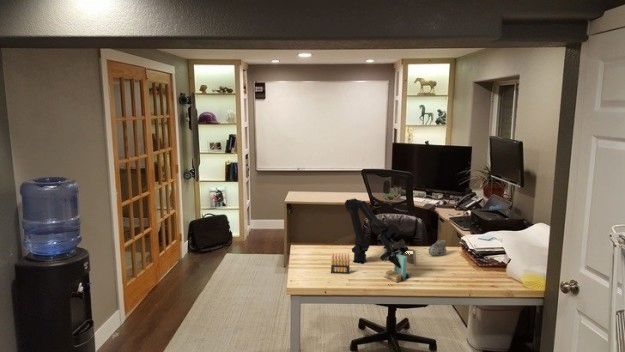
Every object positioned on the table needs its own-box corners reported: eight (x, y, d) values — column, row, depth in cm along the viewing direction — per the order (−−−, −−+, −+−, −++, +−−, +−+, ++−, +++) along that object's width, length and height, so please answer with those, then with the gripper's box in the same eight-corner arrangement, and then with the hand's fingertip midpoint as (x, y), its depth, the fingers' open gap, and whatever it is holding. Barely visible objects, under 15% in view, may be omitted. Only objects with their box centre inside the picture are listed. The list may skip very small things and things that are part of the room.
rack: (383, 278, 240) (383, 273, 239) (396, 273, 247) (396, 268, 246) (397, 284, 232) (397, 279, 232) (410, 279, 239) (411, 274, 239)
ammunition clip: (349, 272, 248) (350, 253, 246) (349, 274, 246) (350, 254, 244) (330, 272, 249) (331, 252, 246) (330, 273, 247) (331, 253, 245)
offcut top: (385, 273, 238) (386, 271, 238) (390, 271, 241) (390, 269, 241) (397, 278, 232) (397, 276, 232) (402, 276, 235) (402, 274, 235)
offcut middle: (384, 275, 239) (384, 273, 239) (389, 273, 242) (389, 271, 242) (396, 279, 233) (396, 277, 233) (400, 278, 236) (401, 275, 236)
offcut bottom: (385, 277, 239) (385, 275, 239) (390, 275, 242) (390, 273, 241) (396, 282, 233) (396, 280, 233) (401, 280, 236) (401, 278, 235)
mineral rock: (428, 257, 274) (429, 242, 272) (424, 251, 284) (425, 236, 282) (449, 257, 273) (450, 242, 272) (444, 251, 284) (445, 237, 282)
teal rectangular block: (394, 275, 242) (395, 254, 240) (397, 273, 244) (398, 253, 242) (402, 278, 238) (403, 258, 236) (405, 277, 240) (407, 256, 238)
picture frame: (383, 262, 262) (385, 245, 291) (383, 264, 262) (385, 248, 291) (415, 264, 258) (414, 248, 287) (415, 267, 258) (414, 250, 287)
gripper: (385, 238, 234) (400, 264, 228) (406, 232, 246) (421, 256, 239) (373, 248, 241) (388, 273, 235) (395, 241, 253) (409, 265, 247)
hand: (402, 266), depth 239 cm, fingers closed on teal rectangular block, 3 cm apart
